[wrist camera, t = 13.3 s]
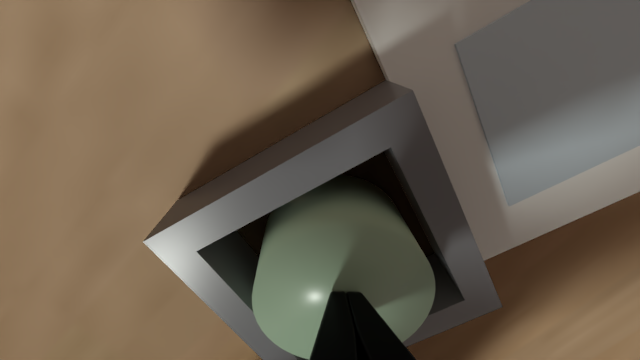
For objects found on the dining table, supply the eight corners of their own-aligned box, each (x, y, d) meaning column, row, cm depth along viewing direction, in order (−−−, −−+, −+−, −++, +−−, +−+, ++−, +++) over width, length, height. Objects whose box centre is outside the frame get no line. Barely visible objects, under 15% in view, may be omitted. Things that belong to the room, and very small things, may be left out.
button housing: (466, 259, 12) (502, 306, 10) (297, 335, 13) (296, 392, 11) (386, 79, 9) (412, 90, 7) (177, 200, 10) (142, 241, 8)
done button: (421, 255, 11) (459, 321, 9) (309, 307, 12) (311, 383, 9) (365, 148, 9) (391, 188, 7) (236, 218, 10) (212, 279, 8)
